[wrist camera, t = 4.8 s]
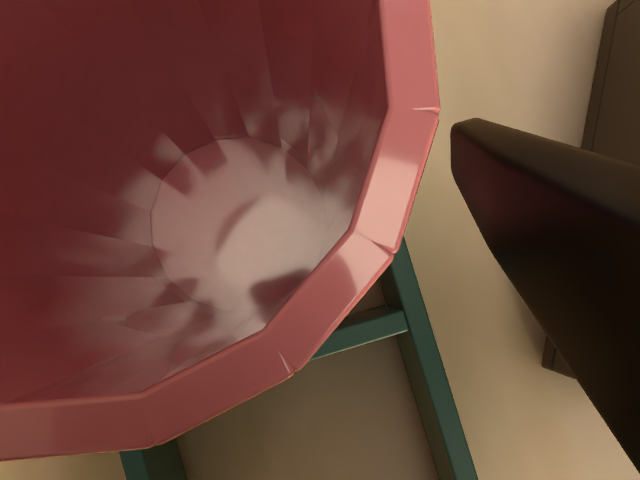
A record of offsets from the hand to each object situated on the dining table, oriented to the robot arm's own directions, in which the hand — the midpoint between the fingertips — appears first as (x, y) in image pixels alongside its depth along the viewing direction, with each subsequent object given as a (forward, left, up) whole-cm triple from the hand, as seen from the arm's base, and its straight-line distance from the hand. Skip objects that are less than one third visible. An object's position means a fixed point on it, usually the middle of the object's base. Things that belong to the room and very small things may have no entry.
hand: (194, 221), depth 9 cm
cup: (0, +1, -9) cm, 9 cm away
